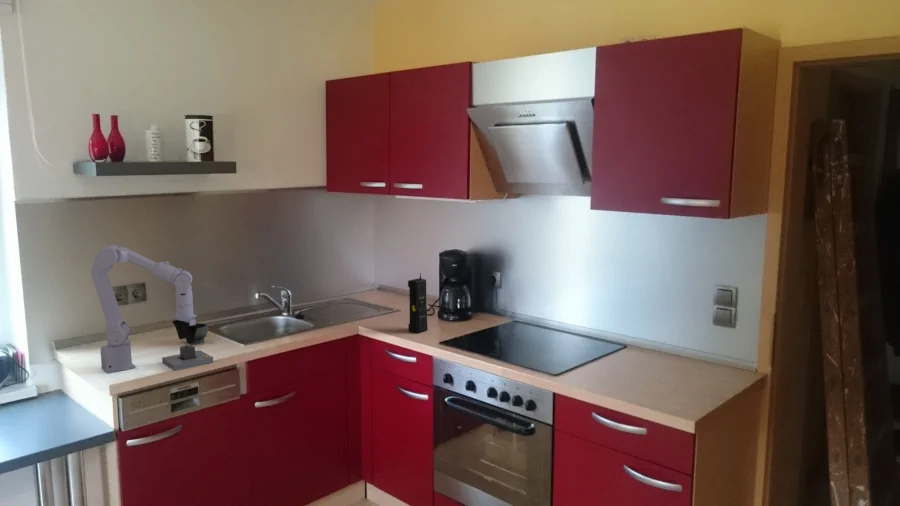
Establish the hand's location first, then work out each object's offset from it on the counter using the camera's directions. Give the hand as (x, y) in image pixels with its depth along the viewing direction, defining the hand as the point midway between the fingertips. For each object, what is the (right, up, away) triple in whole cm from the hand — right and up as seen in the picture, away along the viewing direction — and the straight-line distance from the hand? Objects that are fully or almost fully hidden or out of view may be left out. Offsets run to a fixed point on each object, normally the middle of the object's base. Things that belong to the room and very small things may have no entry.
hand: (186, 340), depth 240 cm
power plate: (0, -8, +1) cm, 8 cm away
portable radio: (+82, -2, +46) cm, 94 cm away
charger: (0, -8, +1) cm, 8 cm away
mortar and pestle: (-7, -5, +27) cm, 28 cm away
